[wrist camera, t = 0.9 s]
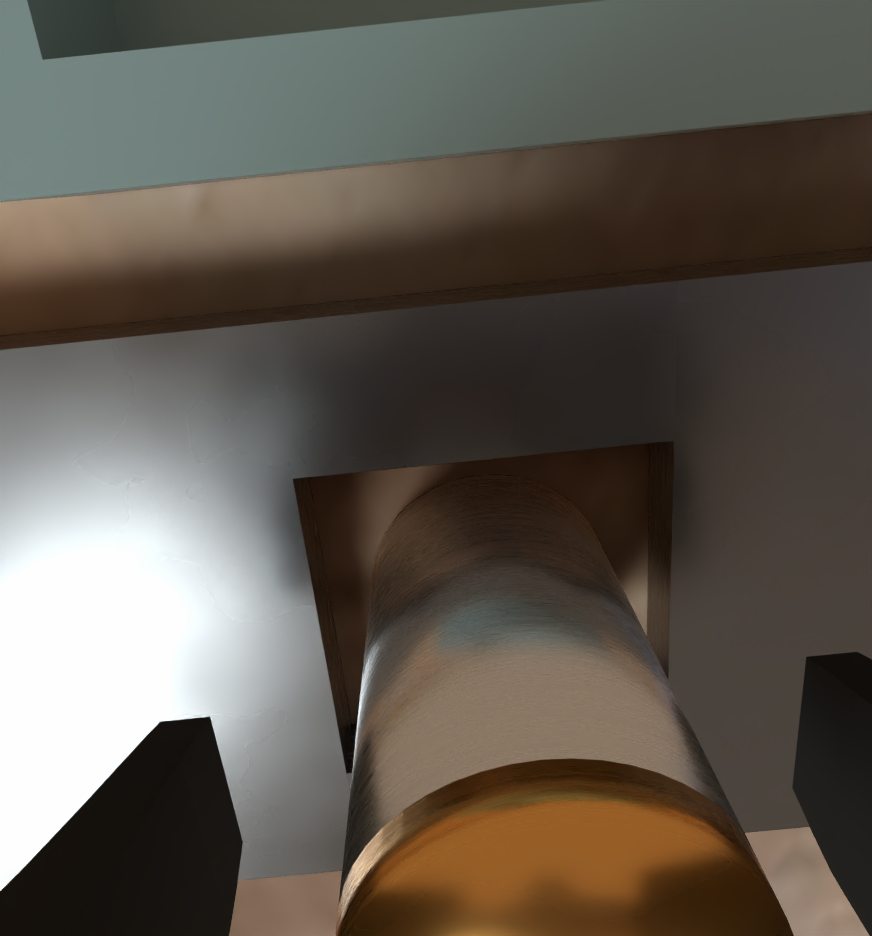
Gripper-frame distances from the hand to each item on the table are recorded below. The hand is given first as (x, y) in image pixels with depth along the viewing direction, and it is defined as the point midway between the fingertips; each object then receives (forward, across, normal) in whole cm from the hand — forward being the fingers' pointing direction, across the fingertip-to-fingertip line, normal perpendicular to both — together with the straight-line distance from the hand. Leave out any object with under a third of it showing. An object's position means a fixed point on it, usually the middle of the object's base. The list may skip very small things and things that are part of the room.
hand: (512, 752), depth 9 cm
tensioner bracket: (+4, 0, 0) cm, 4 cm away
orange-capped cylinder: (+4, 0, 0) cm, 4 cm away
